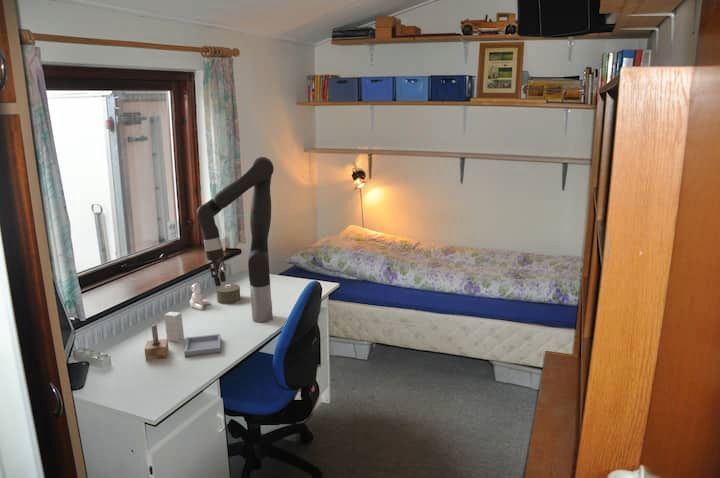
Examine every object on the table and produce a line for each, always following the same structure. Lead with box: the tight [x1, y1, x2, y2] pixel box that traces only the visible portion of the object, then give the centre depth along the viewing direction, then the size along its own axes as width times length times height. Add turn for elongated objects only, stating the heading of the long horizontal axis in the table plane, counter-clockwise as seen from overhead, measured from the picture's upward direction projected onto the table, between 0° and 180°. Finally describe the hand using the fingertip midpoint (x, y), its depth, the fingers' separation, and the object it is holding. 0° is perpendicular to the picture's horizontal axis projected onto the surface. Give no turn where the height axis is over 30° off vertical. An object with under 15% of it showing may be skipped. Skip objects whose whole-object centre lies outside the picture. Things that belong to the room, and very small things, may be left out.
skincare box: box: [164, 311, 185, 343], centre depth 242 cm, size 6×4×12 cm
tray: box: [184, 333, 222, 358], centre depth 234 cm, size 14×14×2 cm
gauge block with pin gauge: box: [144, 324, 170, 362], centre depth 227 cm, size 8×8×13 cm
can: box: [215, 283, 241, 305], centre depth 288 cm, size 12×12×7 cm
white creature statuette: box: [189, 283, 210, 311], centre depth 279 cm, size 10×9×12 cm
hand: (221, 283), depth 252 cm, fingers open, 8 cm apart
